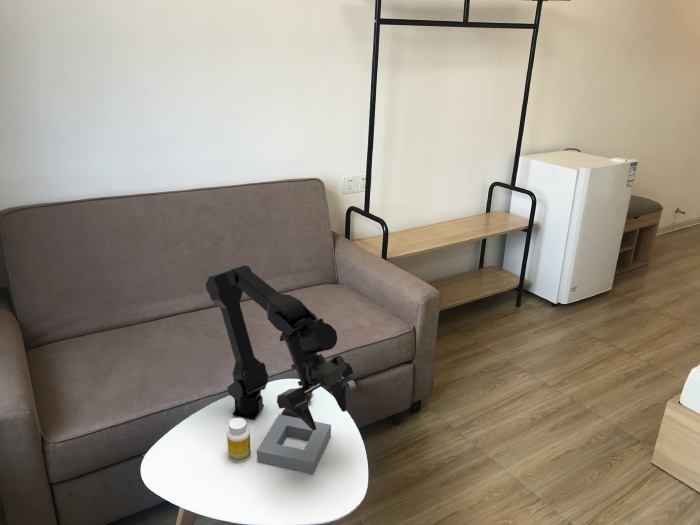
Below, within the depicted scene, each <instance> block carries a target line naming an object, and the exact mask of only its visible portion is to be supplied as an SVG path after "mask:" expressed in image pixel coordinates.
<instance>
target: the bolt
mask: <svg viewBox="0 0 700 525" xmlns="http://www.w3.org/2000/svg"><path fill="white" fill-rule="evenodd" d="M301 387H303V386H299V388H301ZM311 387H312V386H311ZM313 392H314V390H313V391H312V392H310V393H308V394H306V398H305V401H309V402H311V400H312V398H313V394H312V393H313ZM279 414H280V415H285V416H290V417H295V418H300V417H299V416H298V415H296V414H295V413H294V412H293V411H291V410H290V409H289V410H286V409H285V408H283V410H282V411H281V413H279ZM300 419H301V418H300Z"/></svg>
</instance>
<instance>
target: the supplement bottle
mask: <svg viewBox="0 0 700 525" xmlns="http://www.w3.org/2000/svg"><path fill="white" fill-rule="evenodd" d="M250 431H251V430H250V429H249V426H248V425H247V420H246V419H245V418H241V417H235V418H233V419H232V420H230V421H229V423H228V430H227V431H226V442H227V456H228V458H229V459H230V460H231V462H234V463H243V462H245V461H247V460H248V459H249V458H250V456H251V455H252V454H251V453H252V452H251V451H252V450H251V432H250Z"/></svg>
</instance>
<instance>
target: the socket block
mask: <svg viewBox="0 0 700 525" xmlns="http://www.w3.org/2000/svg"><path fill="white" fill-rule="evenodd" d="M280 414H281V413H279V414H278V415H277V417H276V418H275V419H274V422H273V423H272V425H271V426H270V428H269V430H268V431H267V433H266V435H265V436H264V438H263V440H262V442H260V444H259V446H258V447H257V449H256V461H257V463H259V464H264V465H267V466H272V467H277V468H282V469H285V470H291V471H295V472H300V473H304V474H308V475H312V476H313V475H314V474H315V471H317V470H316V469H317V468H318V465H319V463H320V461H321V459H322V457H323V454H324V452H325V450H326V449H327V446H328V443H329V441H330V439H331V436H332V424H329V423H323V422H321V421H314V422H315V426H316V430H312V429H311V428H310V427H309V426H308V425H307V424H306V423H305V422H304V421H303V420H302V419H300V418H295V417H290V416H285V415H280ZM291 437H292V438H291ZM288 438H291V439H295V440H296V439H297V440H302V441H306V442H307V443H306V445H305V447H304V449H302V448H297V447H293V446H288V445H284V442H285V441H286V439H288Z"/></svg>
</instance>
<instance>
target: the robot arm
mask: <svg viewBox="0 0 700 525" xmlns="http://www.w3.org/2000/svg"><path fill="white" fill-rule="evenodd" d="M205 282H206V283H205V289H206V292H207V293H208V294H209V298H210V300H211V301H212V302H213V303H214V304H215V305H216V306H217V307H218V308H219V309H220V311H221V315H222V318H223V322H224V325H225V329H226V333H227V336H228V340H229V343H230V347H231V350H232V353H233V357H234V361H235V363H234V367H233V370H232V378H233V379H232V380H233V383H231V384H229V385H228V386H227V392H228V395H229V396H230V397H231V398H233V400H234V411H233V412H232V413H231V414H232V416H233V417H235V418H242V419H245V420H246V419H247V420H252V421H255V420H256V419H257V417H258V415H260V414H261V412H262V411H263V409H264V407H265V404H264V399H263V397H264V396H262V394H261V392H262V391H263V390H265V389H266V387H267V385H268V383H269V374H268V372H267V368H266V364H265V363H264V362H263V361H262V362H261V361H260V360H259V359H257V358H256V357H255V354H254V350H253V347H252V343H251V339H250V335H249V332H248V328H247V324H246V322H245V317H244V313H243V310H242V307H241V301H242V296H243V293H244V294H246V296H247V297H249V298H250V299H252V301H254V302H255V303H256V304H258V305H259V306H260V307H261V308H263V310H264V311H265V312H266V317H267V320H268V321H269V322H270V324H271V325H272V326H274V328H275V329H276V330H277V331H279V332H281V334H280V336H279V341H280V342H285V345H286V347H287V350H288V352H289V355H290V357H291V361H292V364H291V365H290V366H291V369H292V370H296V373H297V376H298V378H299V381H298V382H297V384H298V386H299V387H297V388H295V387H294V388H290V389H287V390H286V391H284V392H282V393H280V394H278V395H277V397H276V404H277V406H278V409H286V410H289V409H290V410H291V411H293V412H294V413H295V414H296V415H298V416H299V417H300V418H301V419H302V420H303V421H304V422H305V423H306V424H307V425H308V426H309V427H310V428H311V429H312V430H316V426H315V422H316V421H315V422H314V417H313V416H312V413H311V410H310V408H309V405H310V401H305V398H306V394H308V393H310V392H312V391H313V392H314V391H315V390H317V389H319V388H320V387H322V386H324V387H327V388H328V387H329V390H330V391H331V393H332V396H333V397H334V399H335V401H336V403H337V405H338V407H339V409H340V410H341V412H342V413H344V412H347V399H346V398H347V397H346V396H347V395H346V390H347V384H348V382H349V381H350V380H351V378H352V376H351V375H352V374H354V373H355V371H354V369H353V366H352V365H351V364H350V362H347V361H345V360H344V358H343V356H341V355H336V356H333V357H332V359H330V360H328V361H326V359H325V358H324V356H323V354H322V353H320V352H325V351H329V350H333V348H335V347H336V345H337V342H338V333H337V331H336V329H335V328H334V327H333V326H332V325H331V324H329V323H326V322H325V321H324V318H318V317H317V316H316V314H315V313H314V312H312V311H311V310H310V309H309V308H308V307H307V306H306V305H305V304H304V303H303V302H302V301H301V300H300V299H298V298H296V297H294V296H292V295H290V294H285V293H280V292H278V291H277V290H276V289H275V288H273V287H272V286H271V285H270V284H268V283H267V282H266V281H265V280H263V279H262V278H261V277H259V276H258V275H257V274H255V273H254V272H253V271H252V269H251V267H250V266H248V265H246V264H245V265H243V264H241V265H240V266H237V267H234V268H231V269H227V270H225V271H221V272H219V273H216V274H212V275H210V276H208V278H207V281H205ZM318 353H320V354H318ZM302 386H303V387H302ZM311 386H312V387H311ZM300 387H301V388H300ZM313 392H312V393H313Z"/></svg>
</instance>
